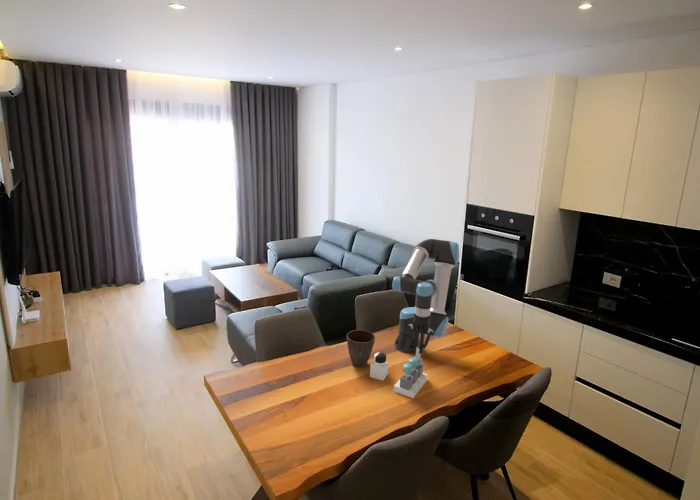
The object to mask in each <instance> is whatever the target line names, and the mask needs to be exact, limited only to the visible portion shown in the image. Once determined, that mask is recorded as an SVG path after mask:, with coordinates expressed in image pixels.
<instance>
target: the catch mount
mask: <svg viewBox="0 0 700 500" xmlns="http://www.w3.org/2000/svg"><path fill="white" fill-rule="evenodd" d="M404 377H405V372H403V374H402V375H401V376H400V378H399V379H398V381H397V382H396V383H395V384H394V385H393V392H394V393H397V394H400V395H402V396H405V397H409V398H410V399H411V398H412V399H414V398H415V396H416V395H417V394H418V393H419V391H420V390H421V389H422V387H423V386H424V385H425V384H426V382H427V380H428V377H429V376H428V374H427V373H424V364H423V363H422V365H421V366H419V367H415V373H410V379H406V378H404Z"/></svg>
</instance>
